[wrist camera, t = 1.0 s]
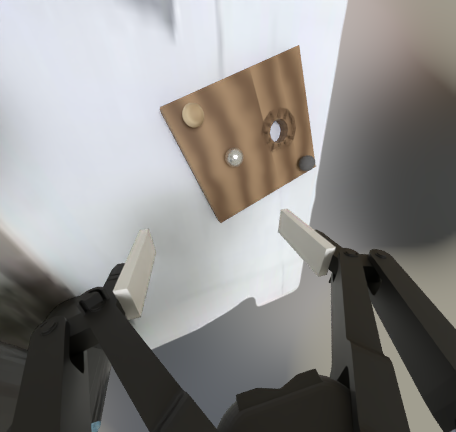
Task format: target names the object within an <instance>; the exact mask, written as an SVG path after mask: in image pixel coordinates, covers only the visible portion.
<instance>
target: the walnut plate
mask: <svg viewBox="0 0 456 432" xmlns="http://www.w3.org/2000/svg"><path fill="white" fill-rule="evenodd" d="M188 103H196V104H198V105H199V106H200V107H201V108H202V109H203V112H204V121H203V123H202V124H201V125H200V126H199V127H196V128H192V127H190V126H188V125H187V124H186V123H185V122H184V120H183V117H182V111H183V108H184V106H185V105H186V104H188ZM160 112H161V113H162V115H163V117H164V119H165V121H166V123H167V125H168V127H169V129H170V130H171V132H172V134H173V136H174V138H175V140H176V142H177V144H178V146H179V148H180V149H181V151H182V153H183V155H184V157H185V159H186V161H187V163H188V165H189V166H190V168H191V170H192V172H193V174H194V176H195V178H196V180H197V182H198V183H199V185H200V187H201V189H202V191H203V193H204V195H205V197H206V199H207V201H208V202H209V204H210V206H211V208H212V210H213V212H214V214H215V216H216V218H217V219H218V220H219V222H220V223H222V222H223V221H225V220H227V219H228V218H230V217H232V216H233V215H235V214H237V213H238V212H240V211H242V210H243V209H245V208H247V207H249V206H250V205H252V204H254V203H255V202H257V201H259V200H260V199H262V198H264V197H265V196H267V195H269V194H270V193H272V192H274V191H275V190H277V189H279V188H280V187H282V186H284V185H285V184H287V183H289V182H291V181H292V180H294V179H296V178H297V177H299V176H301V175H302V174H304V173H306V172H307V171H303V170H301V169H300V168H299V160H300V159H301V158H302V157H303V156H306V155H310V156H312V157H313V158H314V151H313V144H312V136H311V129H310V122H309V114H308V107H307V100H306V92H305V85H304V77H303V70H302V63H301V55H300V48H299V45H298V46H296V47H294V48H291V49H289V50H287V51H285V52H282V53H280V54H278V55H276V56H274V57H271V58H269V59H267V60H265V61H262V62H260V63H258V64H256V65H253V66H251V67H249V68H247V69H245V70H242V71H240V72H238V73H236V74H233V75H231V76H229V77H227V78H224V79H222V80H220V81H218V82H215V83H213V84H211V85H209V86H207V87H204V88H202V89H200V90H198V91H195V92H193V93H191V94H189V95H186V96H184V97H182V98H180V99H178V100H175V101H173V102H171V103H169V104H166V105H164V106H162V107H160ZM274 121H277V122H278V124H279V125H280V129H281V132H280V137H279V138H278V140H277V141H276V142H274V141H273V140H272V139H271V136H270V128H271V125H272V124H273V122H274ZM231 148H238V149H240V150H241V151H242V153H243V162H242V163H241V164H240V165H239V166H237V167H231V166H229V165H228V164H227V162H226V160H225V155H226V153H227V151H228V150H229V149H231ZM314 167H316V166H315V165H314ZM314 167H313V168H314Z"/></svg>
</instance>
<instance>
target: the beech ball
mask: <svg viewBox="0 0 456 432" xmlns="http://www.w3.org/2000/svg"><path fill="white" fill-rule="evenodd" d="M182 117H183V120H184V122H185V123H186V124H187V125H188V126H190V127H192V128H196V127H199V126H200V125H201V124H202V123H203V121H204V112H203V109H202V108H201V107H200V106H199V105H198V104H196V103H188V104H186V105H185V106H184V108H183V111H182Z"/></svg>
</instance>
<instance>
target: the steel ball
mask: <svg viewBox="0 0 456 432" xmlns="http://www.w3.org/2000/svg"><path fill="white" fill-rule="evenodd" d="M225 160H226V162H227V164H228V165H229V166H231V167H237V166H239V165H240V164H241V163H242V162H243V153H242V151H241V150H240V149H238V148H231V149H229V150H228V151H227V153H226V155H225Z"/></svg>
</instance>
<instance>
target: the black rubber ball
mask: <svg viewBox="0 0 456 432" xmlns="http://www.w3.org/2000/svg"><path fill="white" fill-rule="evenodd" d="M314 165H315V159H314V158H313V157H312V156H310V155H306V156H303V157H302V158H301V159H300V160H299V168H300V169H301V170H303V171H309V170H311V169H312V168H313V167H314Z"/></svg>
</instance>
